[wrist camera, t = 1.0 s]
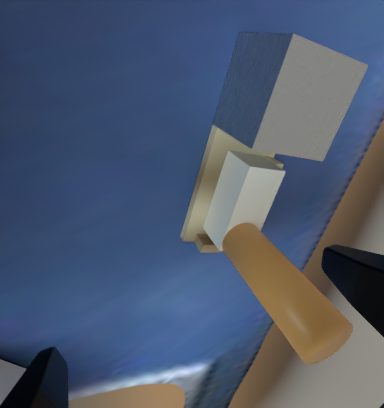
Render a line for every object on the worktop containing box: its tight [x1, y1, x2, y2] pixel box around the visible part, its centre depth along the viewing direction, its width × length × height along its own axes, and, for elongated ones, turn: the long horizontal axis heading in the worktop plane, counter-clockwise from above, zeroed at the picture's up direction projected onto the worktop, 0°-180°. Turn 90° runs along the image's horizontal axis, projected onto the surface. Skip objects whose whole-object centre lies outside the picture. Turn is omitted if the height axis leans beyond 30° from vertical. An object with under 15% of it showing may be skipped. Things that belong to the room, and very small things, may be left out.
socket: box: [213, 32, 369, 161], centre depth 19 cm, size 6×6×6 cm
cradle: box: [180, 125, 284, 253], centre depth 24 cm, size 10×6×2 cm, turn 163°
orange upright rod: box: [203, 150, 353, 364], centre depth 19 cm, size 8×3×12 cm, turn 163°
